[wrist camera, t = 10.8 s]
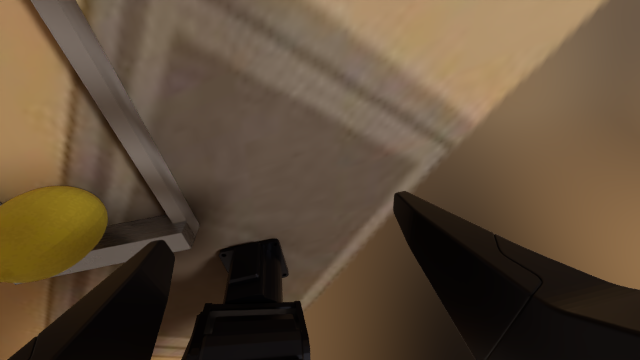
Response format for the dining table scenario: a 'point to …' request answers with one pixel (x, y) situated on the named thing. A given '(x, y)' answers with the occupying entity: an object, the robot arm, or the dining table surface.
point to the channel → (113, 101)
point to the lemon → (48, 232)
